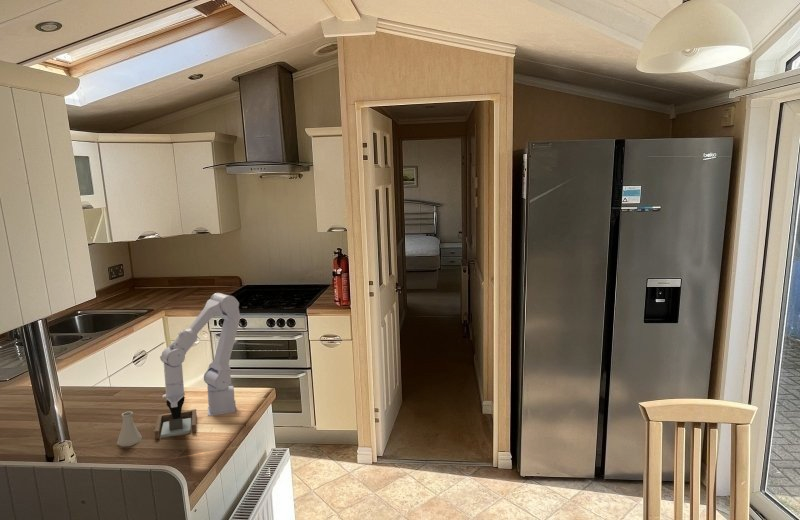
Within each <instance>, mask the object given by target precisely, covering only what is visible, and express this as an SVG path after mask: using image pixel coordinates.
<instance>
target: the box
mask: <svg viewBox="0 0 800 520" xmlns="http://www.w3.org/2000/svg"><path fill="white" fill-rule="evenodd" d="M197 416H198V415H197V408H195V409H189V410H181V417H180V418H182V419H186V418H191V433H187V434H181V435H175V436H169V437H163V438H161V432H162V427H163V422H167V421H169V420H173V417H172V414H171V412H168V413H162V414H158V415H157V419H156V423H155V428H154V438H155V439H154V440H160V439H161V440H162V439H167V438H173V437H178V436H180V437H181V436H184V435H190V434H196V433H197V418H198V417H197Z"/></svg>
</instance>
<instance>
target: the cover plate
mask: <svg viewBox="0 0 800 520" xmlns="http://www.w3.org/2000/svg"><path fill="white" fill-rule="evenodd" d="M187 433H191V418H186V419H182V418H179V419H173V420H169V421H167V422H163V427H162V432H161V438H162V439H164V438H163V437H168V438H170V437H169V436H174V437H176V436H175V435H180V436H182V435H181V434H185V435H188V434H187ZM191 434H192V433H191Z"/></svg>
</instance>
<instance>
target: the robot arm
mask: <svg viewBox="0 0 800 520" xmlns="http://www.w3.org/2000/svg"><path fill="white" fill-rule="evenodd" d="M239 307H240V302H239V301H238V299H237V298H236V297H235V296H233V295H228V294H225V293H221V292H216V293H213V294H212V295H211V296H210V299H207V301H206V302H205V305H204V307H203V309H202V310H201V311H200V313H198V315H197V316H196V319H195V320H194V321H193V322H192V324H191V325H190V327H188V328H185V329H183V330H182V331H179V332H178V334H177V335H178V336H177V337H176V338H175V339H174V341H173V342H172V343H170V344H169V347H167V348H165V349H164V350H163V351H162V352H161V355H160V356H159V359H160V361H161V362H162V363H163V369H164V371H163V372H164V374H163V375H164V385H165V386H164V387H165V394H162V399H166V407H168V409H169V410H170V413H171V414H172V417H173V419H179V418H180V417H181V411H182V408H183V405H184V403H185V398H186V397H185V395H186V392H185V390H184V389H185V388H184V375H183V373H184V372H183V363H184V361H185V360H186V354H187V353H188V351H189V350H190V349H191V348H192V346H193V345H194V344H195V343H196V341H197V340H198V334H199V333H200V331H201V330H202V329H203V328H204V327H205V326H206V325H207V324H208V323H209V321H211V320H212V318H213V317H218V316H221V318H223V323H222V327H221V331H220V335H219V338H218V343H217V347H216V351H215V354H214V358H213V361H211V363H209V365H208V367H207V370H206V371H205V372H204V375H203V381H204V383H205V384H207V401H208V402H207V403H208V406H207V416H208V417H211V416H216V415H222V414H223V415H224V414H229V413H230V414H231V413H235V412H236V400H235V389H234V388H235V387H234V385H231V383H232V377H231V373H232V369H231V367H230V364H229V363H230V360H231V356H232V352H233V348H234V344H235V340H236V336H237V333H238V328H239V324H240V321H241V320H240V319H241V315H240V314H241V312H240V308H239Z"/></svg>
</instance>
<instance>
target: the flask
mask: <svg viewBox="0 0 800 520" xmlns="http://www.w3.org/2000/svg"><path fill="white" fill-rule="evenodd" d="M133 414H134V412H133V411H125V412H122V414H121V417H122V425H121V429H120V432H119V436H118V438H117V442H116V443H115V445H117V446H119V447H123V448H124V447H132V446H134V445H136V444H138V443H140V442H141V441H142V439H143V437H142V435H141V433H140V431H139V429H138V428H137V426H136V424H135V421H134V419H133Z"/></svg>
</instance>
